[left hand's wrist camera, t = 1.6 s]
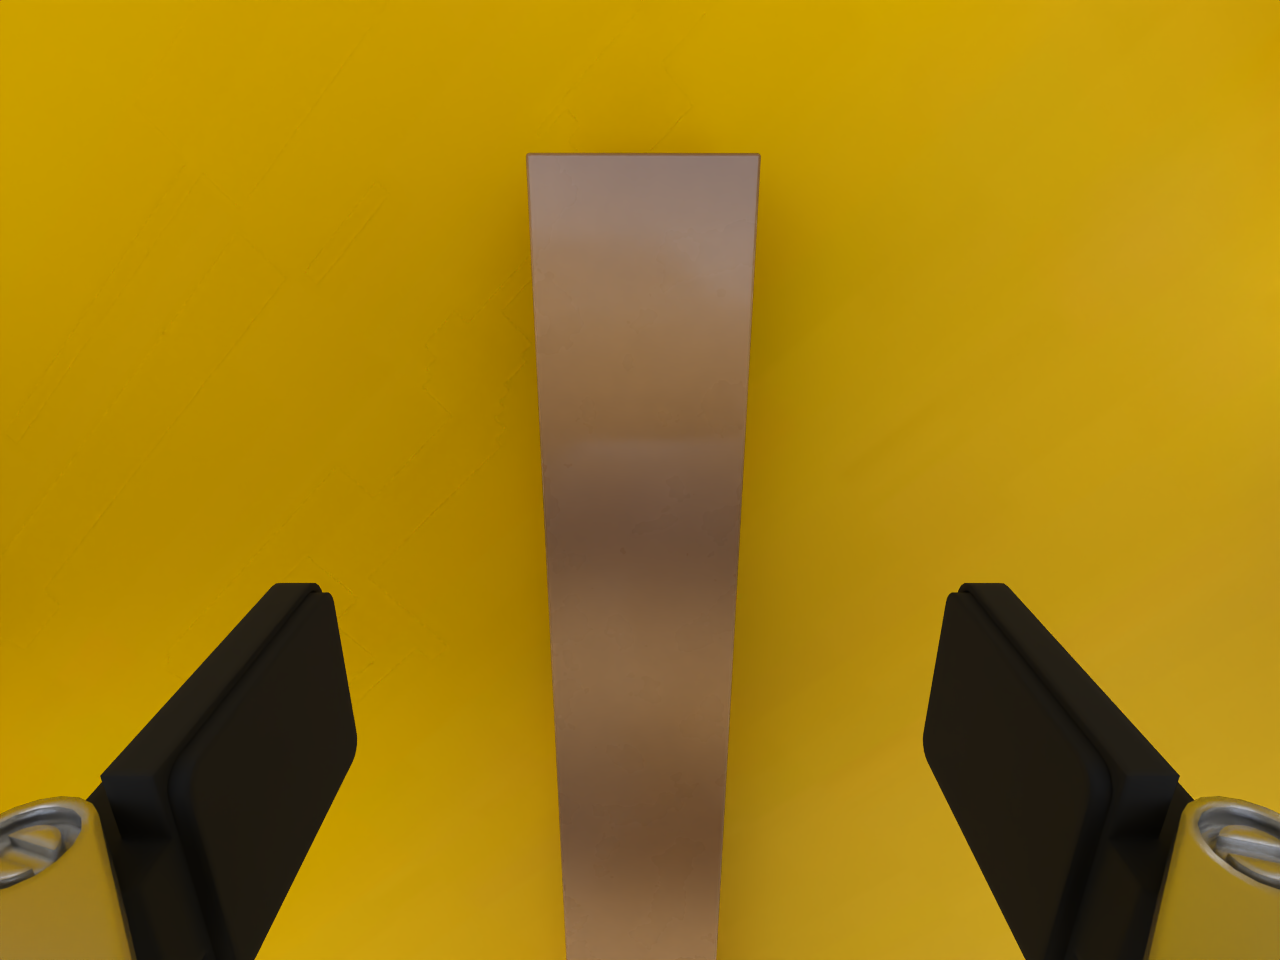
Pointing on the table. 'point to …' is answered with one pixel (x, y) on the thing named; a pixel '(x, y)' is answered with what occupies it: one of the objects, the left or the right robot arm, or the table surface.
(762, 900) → the table surface
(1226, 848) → the left robot arm
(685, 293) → the post
